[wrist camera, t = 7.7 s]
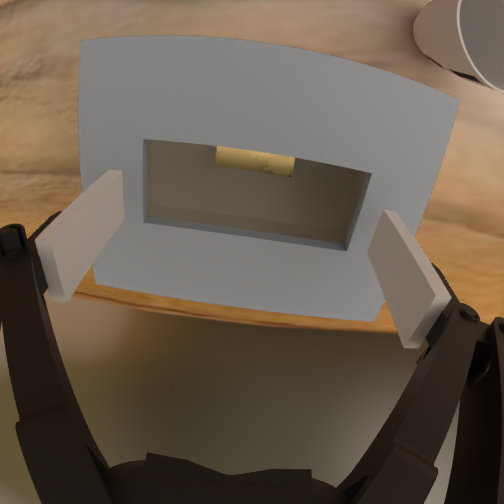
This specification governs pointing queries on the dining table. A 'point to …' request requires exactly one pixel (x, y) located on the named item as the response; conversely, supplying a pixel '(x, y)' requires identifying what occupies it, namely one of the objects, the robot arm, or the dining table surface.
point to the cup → (464, 38)
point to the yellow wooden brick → (254, 161)
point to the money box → (250, 182)
